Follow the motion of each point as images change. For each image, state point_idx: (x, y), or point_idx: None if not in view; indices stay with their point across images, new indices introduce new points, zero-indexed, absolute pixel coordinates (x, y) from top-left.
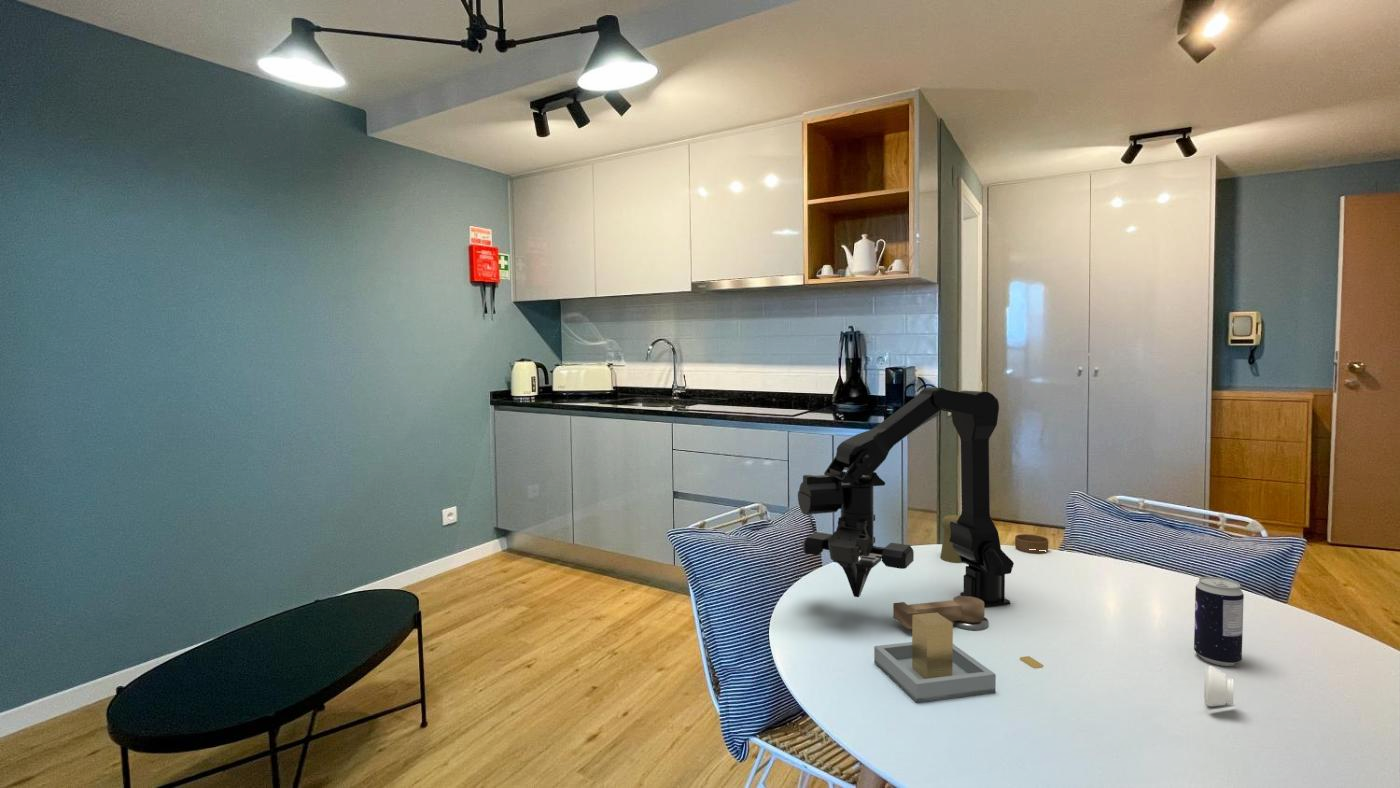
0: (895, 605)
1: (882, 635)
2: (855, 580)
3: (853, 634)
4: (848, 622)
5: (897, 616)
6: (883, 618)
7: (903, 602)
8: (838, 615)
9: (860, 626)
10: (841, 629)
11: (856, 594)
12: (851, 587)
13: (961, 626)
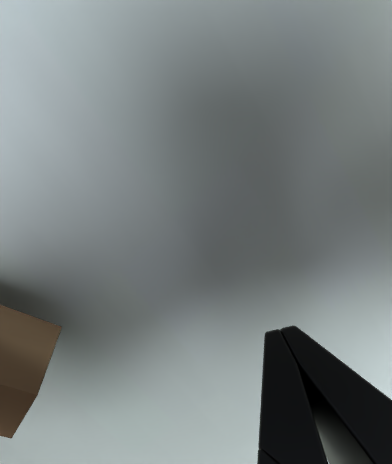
0: (11, 381)
1: (5, 160)
2: (338, 439)
3: (122, 42)
4: (241, 176)
5: (9, 328)
6: (145, 325)
7: (6, 433)
8: (325, 213)
9: (165, 177)
10: (219, 56)
11: (279, 338)
12: (334, 363)
13: None
